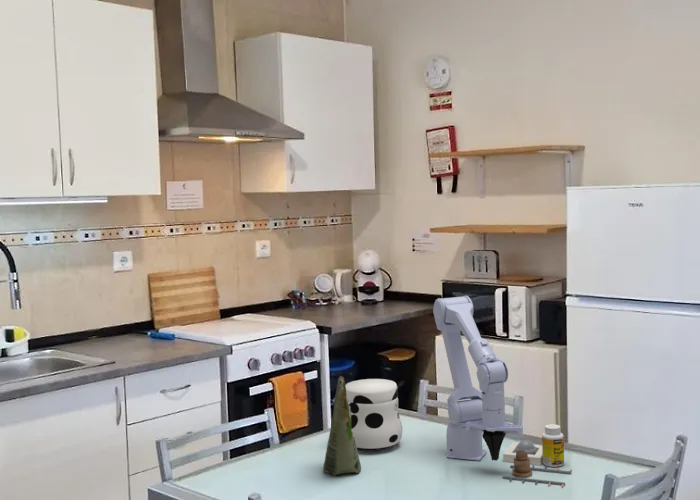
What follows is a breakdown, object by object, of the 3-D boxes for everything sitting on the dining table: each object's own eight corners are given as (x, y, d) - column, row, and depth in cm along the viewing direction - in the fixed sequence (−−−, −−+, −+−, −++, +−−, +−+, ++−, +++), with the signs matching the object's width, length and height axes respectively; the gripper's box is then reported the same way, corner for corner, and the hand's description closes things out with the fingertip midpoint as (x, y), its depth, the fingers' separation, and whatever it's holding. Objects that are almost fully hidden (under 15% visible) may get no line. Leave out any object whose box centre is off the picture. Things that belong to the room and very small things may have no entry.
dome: (514, 458, 219) (513, 442, 219) (518, 452, 224) (518, 436, 223) (533, 460, 217) (533, 444, 216) (537, 454, 221) (537, 438, 221)
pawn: (510, 476, 206) (509, 452, 206) (514, 470, 211) (514, 446, 210) (529, 479, 204) (529, 454, 204) (534, 472, 209) (533, 448, 208)
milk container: (413, 440, 239) (411, 380, 237) (384, 458, 224) (381, 395, 223) (363, 433, 248) (360, 375, 247) (332, 450, 234) (329, 389, 232)
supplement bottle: (554, 469, 210) (553, 430, 209) (538, 463, 215) (537, 426, 214) (568, 464, 213) (568, 426, 212) (552, 459, 218) (551, 421, 217)
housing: (503, 461, 218) (503, 454, 218) (512, 449, 227) (512, 442, 227) (540, 465, 214) (540, 457, 213) (548, 453, 223) (548, 446, 222)
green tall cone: (343, 460, 224) (339, 371, 222) (374, 470, 216) (370, 377, 214) (313, 471, 216) (308, 379, 214) (344, 482, 208) (340, 386, 206)
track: (500, 480, 204) (500, 478, 204) (512, 464, 215) (512, 462, 215) (563, 488, 197) (563, 486, 197) (572, 471, 208) (572, 469, 208)
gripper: (461, 409, 209) (463, 461, 210) (517, 414, 203) (519, 467, 204) (469, 402, 215) (471, 452, 216) (524, 406, 209) (525, 458, 210)
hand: (495, 459), depth 210 cm, fingers closed
